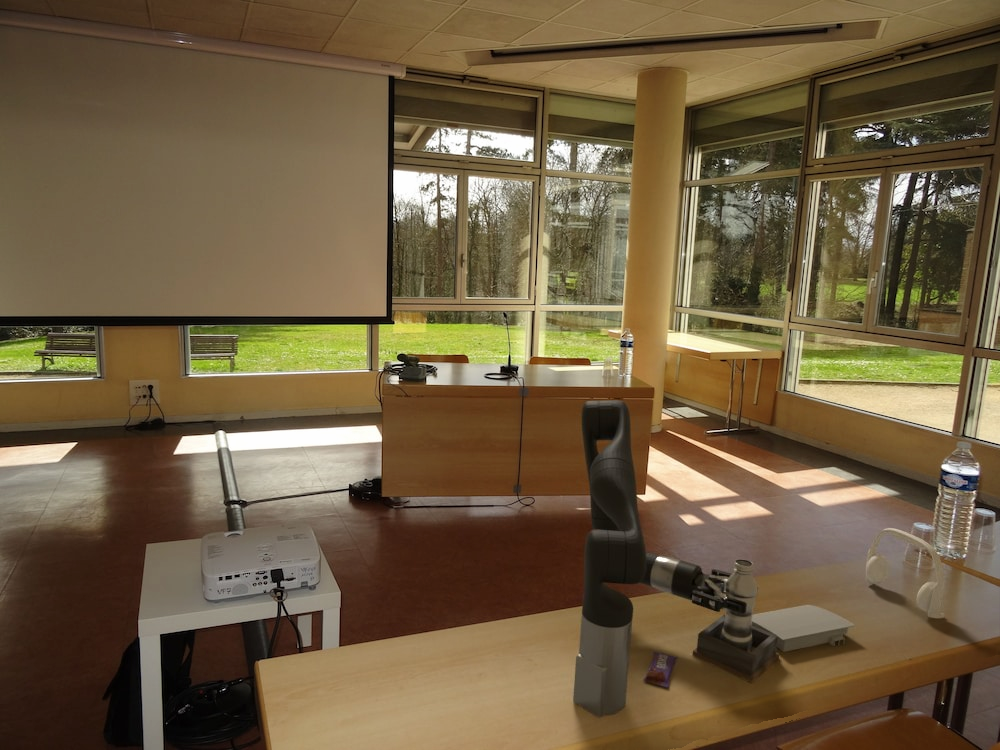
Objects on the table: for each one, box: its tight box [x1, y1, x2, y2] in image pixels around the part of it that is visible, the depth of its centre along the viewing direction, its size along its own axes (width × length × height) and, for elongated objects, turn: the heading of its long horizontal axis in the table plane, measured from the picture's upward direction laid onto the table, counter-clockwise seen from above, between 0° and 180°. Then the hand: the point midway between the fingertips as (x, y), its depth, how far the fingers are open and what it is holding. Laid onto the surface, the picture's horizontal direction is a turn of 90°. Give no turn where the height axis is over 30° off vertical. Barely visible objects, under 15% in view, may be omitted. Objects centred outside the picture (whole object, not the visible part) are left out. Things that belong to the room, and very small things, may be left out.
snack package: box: [643, 650, 679, 688], centre depth 142 cm, size 12×2×5 cm
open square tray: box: [692, 613, 780, 684], centre depth 147 cm, size 13×13×5 cm
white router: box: [752, 604, 856, 653], centre depth 158 cm, size 15×23×4 cm, turn 111°
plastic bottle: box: [720, 558, 759, 653], centre depth 146 cm, size 6×7×20 cm
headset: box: [865, 527, 946, 619], centre depth 174 cm, size 20×7×18 cm, turn 20°
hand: (751, 600), depth 144 cm, fingers open, 8 cm apart
